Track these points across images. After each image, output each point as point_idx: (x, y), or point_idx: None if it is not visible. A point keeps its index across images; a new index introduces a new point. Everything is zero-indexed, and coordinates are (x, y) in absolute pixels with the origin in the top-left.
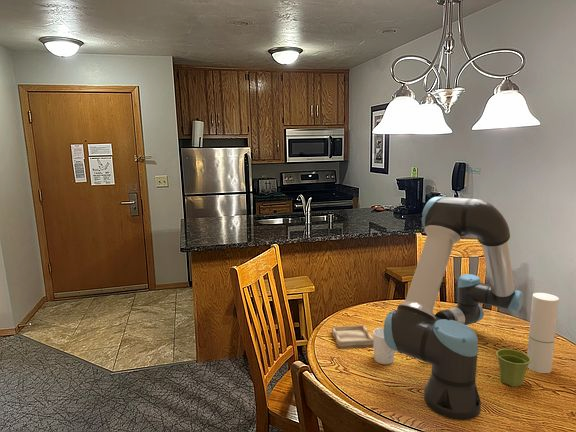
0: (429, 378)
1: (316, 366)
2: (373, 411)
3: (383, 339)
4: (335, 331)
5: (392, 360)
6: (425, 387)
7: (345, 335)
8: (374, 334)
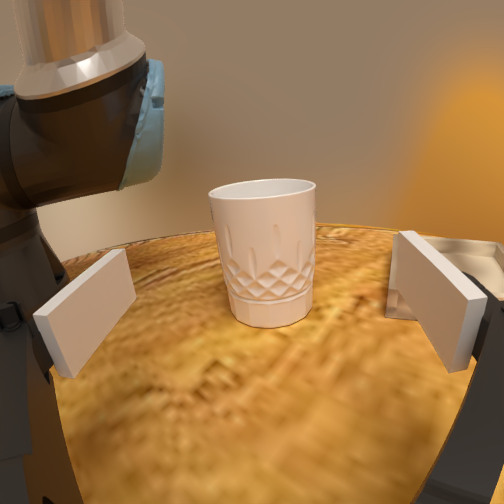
0: (48, 244)
1: (322, 224)
2: (141, 240)
3: (231, 191)
4: (469, 241)
5: (230, 304)
6: (65, 272)
7: (466, 267)
8: (271, 179)
